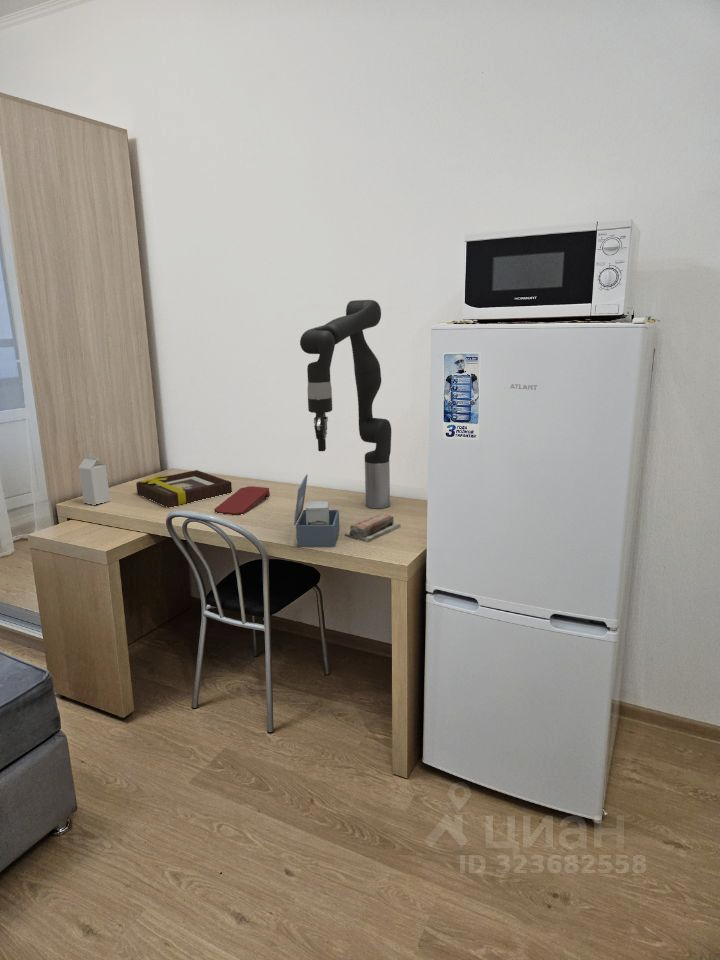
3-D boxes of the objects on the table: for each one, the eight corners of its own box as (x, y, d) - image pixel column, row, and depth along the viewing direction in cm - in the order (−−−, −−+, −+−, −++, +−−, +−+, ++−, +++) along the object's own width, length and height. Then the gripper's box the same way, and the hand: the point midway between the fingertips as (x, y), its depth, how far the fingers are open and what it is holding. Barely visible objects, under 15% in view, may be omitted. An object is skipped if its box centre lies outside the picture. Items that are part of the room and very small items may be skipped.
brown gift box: (167, 493, 242) (134, 479, 264) (169, 509, 244) (136, 494, 265) (231, 479, 260) (195, 466, 282) (233, 494, 262) (197, 481, 284)
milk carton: (95, 506, 249) (89, 459, 244) (83, 504, 253) (76, 457, 248) (110, 501, 255) (104, 455, 250) (98, 499, 259) (92, 453, 254)
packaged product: (367, 529, 203) (344, 523, 209) (368, 543, 204) (344, 537, 211) (400, 514, 216) (377, 509, 223) (401, 528, 218) (378, 522, 224)
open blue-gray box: (304, 529, 218) (303, 509, 216) (339, 529, 217) (338, 509, 215) (297, 546, 202) (296, 525, 200) (334, 546, 201) (334, 525, 200)
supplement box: (306, 545, 203) (304, 507, 200) (307, 537, 210) (306, 500, 207) (329, 544, 203) (328, 507, 200) (330, 536, 210) (328, 500, 207)
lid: (303, 509, 216) (301, 508, 216) (307, 474, 213) (306, 474, 213) (295, 525, 200) (293, 525, 200) (300, 488, 197) (298, 488, 197)
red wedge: (242, 525, 235) (274, 497, 256) (239, 513, 233) (272, 485, 254) (214, 522, 239) (248, 494, 260) (211, 510, 237) (246, 483, 258)
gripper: (310, 393, 205) (313, 446, 210) (304, 399, 192) (307, 455, 197) (334, 393, 205) (336, 445, 209) (329, 399, 192) (331, 455, 196)
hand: (322, 450), depth 203 cm, fingers closed
